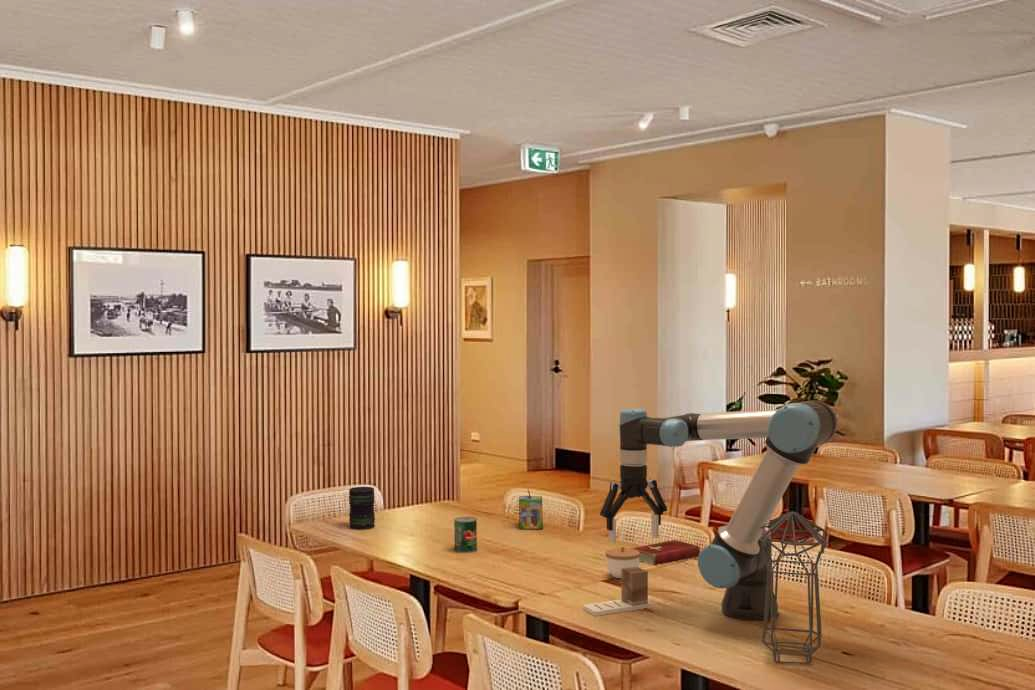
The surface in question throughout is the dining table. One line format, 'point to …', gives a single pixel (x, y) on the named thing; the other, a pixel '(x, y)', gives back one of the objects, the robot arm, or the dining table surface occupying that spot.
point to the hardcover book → (667, 552)
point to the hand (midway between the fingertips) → (634, 539)
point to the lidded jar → (621, 560)
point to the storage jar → (361, 508)
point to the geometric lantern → (770, 573)
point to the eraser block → (634, 585)
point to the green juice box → (530, 512)
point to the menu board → (612, 607)
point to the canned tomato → (465, 534)
